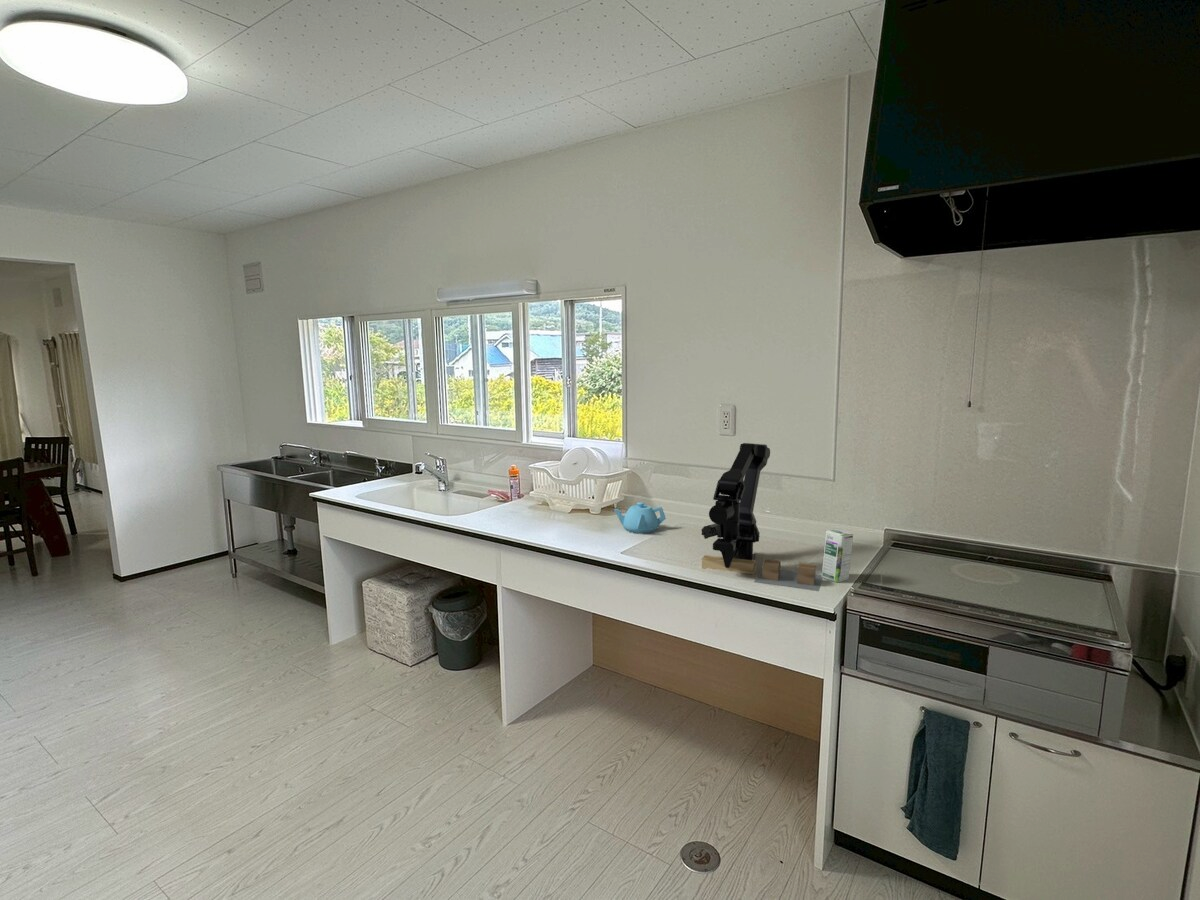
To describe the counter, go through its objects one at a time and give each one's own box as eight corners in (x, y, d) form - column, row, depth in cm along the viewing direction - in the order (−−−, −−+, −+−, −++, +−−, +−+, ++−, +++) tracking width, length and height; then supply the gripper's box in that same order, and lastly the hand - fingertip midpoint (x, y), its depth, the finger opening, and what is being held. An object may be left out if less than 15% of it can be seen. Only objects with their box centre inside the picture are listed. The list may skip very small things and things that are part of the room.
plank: (704, 565, 197) (704, 554, 196) (755, 571, 191) (755, 560, 190) (701, 569, 193) (701, 558, 193) (753, 575, 187) (753, 564, 187)
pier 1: (764, 574, 187) (765, 558, 186) (780, 576, 185) (780, 560, 184) (762, 578, 183) (762, 562, 182) (777, 580, 181) (778, 564, 180)
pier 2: (799, 578, 183) (799, 562, 182) (815, 580, 181) (815, 564, 180) (797, 583, 178) (797, 567, 178) (813, 585, 177) (814, 569, 176)
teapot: (641, 537, 228) (641, 509, 226) (612, 529, 239) (612, 502, 237) (667, 529, 238) (668, 502, 237) (639, 522, 249) (639, 496, 248)
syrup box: (820, 577, 184) (825, 530, 181) (832, 573, 187) (837, 527, 185) (837, 583, 179) (842, 535, 177) (849, 579, 182) (854, 532, 180)
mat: (762, 568, 193) (762, 567, 192) (822, 576, 185) (822, 575, 185) (754, 583, 180) (754, 582, 180) (818, 592, 173) (818, 591, 173)
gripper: (711, 508, 201) (710, 554, 203) (696, 521, 184) (695, 571, 187) (745, 511, 197) (744, 558, 199) (733, 525, 180) (732, 576, 182)
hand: (728, 565), depth 192 cm, fingers closed on plank, 4 cm apart
